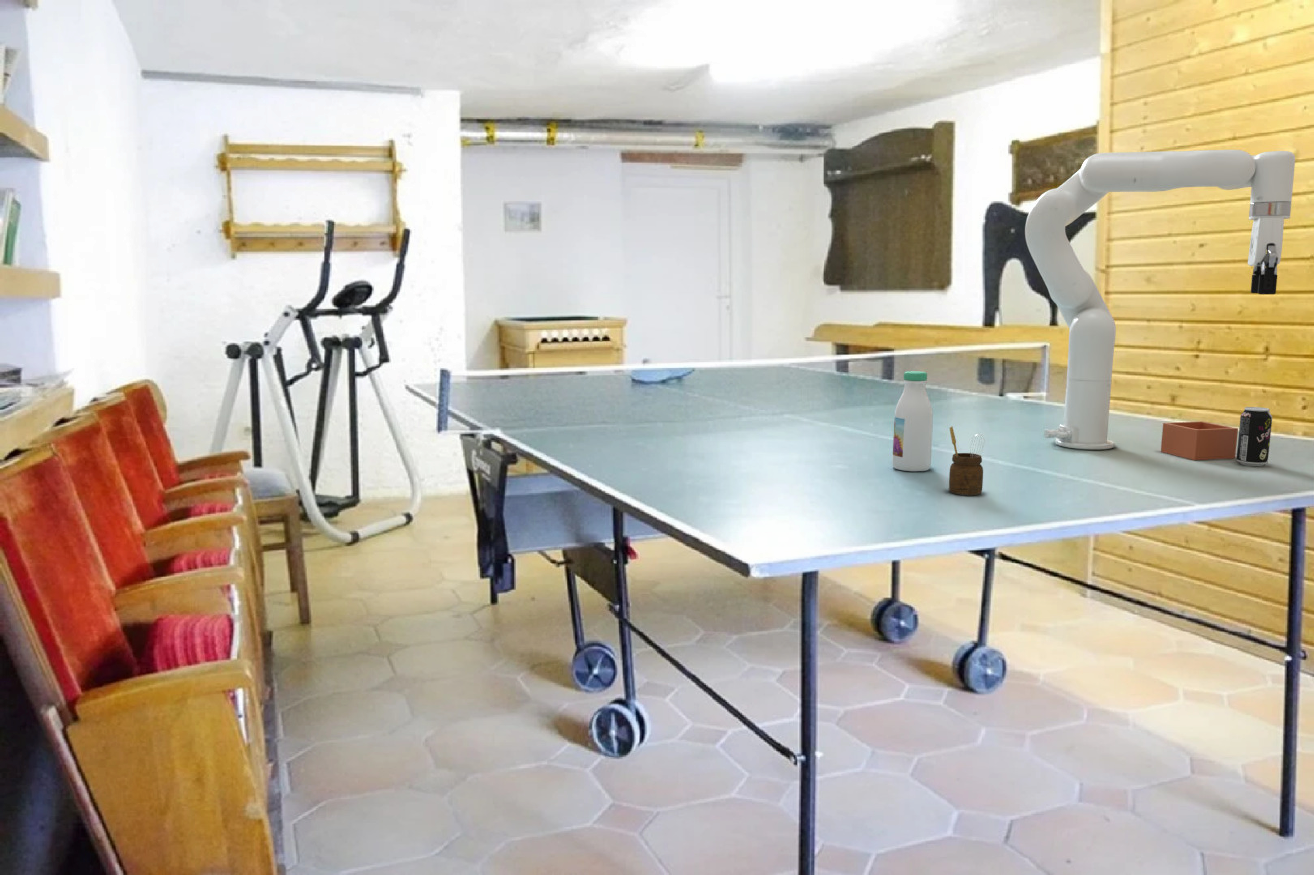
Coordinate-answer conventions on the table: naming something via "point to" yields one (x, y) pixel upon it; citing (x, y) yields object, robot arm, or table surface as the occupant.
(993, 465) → the table surface
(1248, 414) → the beverage can
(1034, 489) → the table surface
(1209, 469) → the table surface
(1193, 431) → the bin
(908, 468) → the milk bottle
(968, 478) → the utensil holder
